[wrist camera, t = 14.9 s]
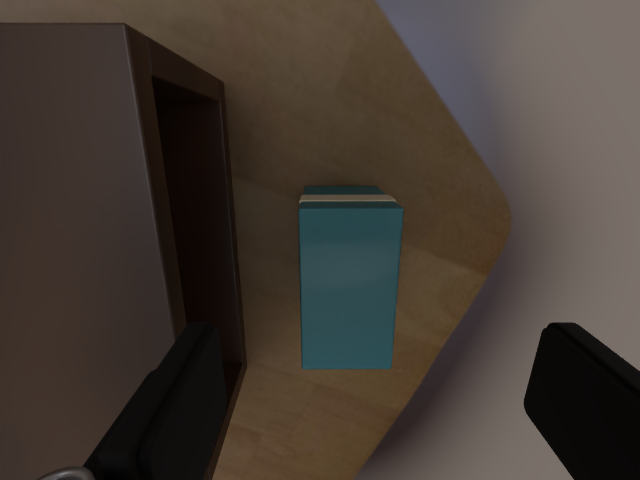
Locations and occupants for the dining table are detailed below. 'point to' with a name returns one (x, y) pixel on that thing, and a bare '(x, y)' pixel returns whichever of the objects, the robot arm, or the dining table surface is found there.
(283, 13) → the dining table surface
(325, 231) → the block
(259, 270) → the dining table surface
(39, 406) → the shelf
